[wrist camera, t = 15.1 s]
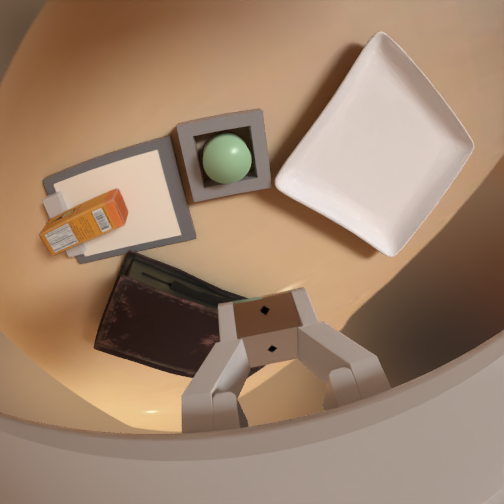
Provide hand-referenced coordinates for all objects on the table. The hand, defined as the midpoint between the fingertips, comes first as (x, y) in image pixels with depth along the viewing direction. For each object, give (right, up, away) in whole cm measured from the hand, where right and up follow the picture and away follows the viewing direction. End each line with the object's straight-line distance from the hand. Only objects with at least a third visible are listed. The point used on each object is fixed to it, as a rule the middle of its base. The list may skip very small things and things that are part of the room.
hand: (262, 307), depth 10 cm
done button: (-3, +12, +17) cm, 21 cm away
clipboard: (-15, +7, +19) cm, 25 cm away
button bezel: (-3, +12, +17) cm, 22 cm away
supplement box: (-13, +7, +16) cm, 22 cm away
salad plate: (+15, +14, +20) cm, 29 cm away
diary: (-9, -8, +30) cm, 33 cm away
